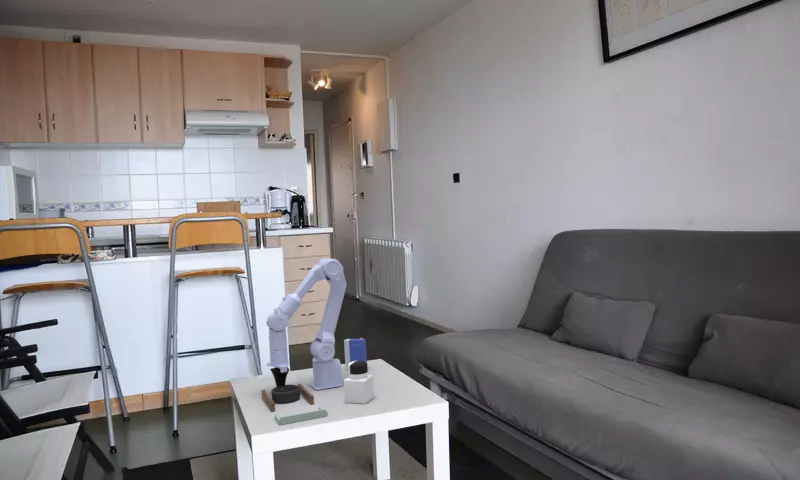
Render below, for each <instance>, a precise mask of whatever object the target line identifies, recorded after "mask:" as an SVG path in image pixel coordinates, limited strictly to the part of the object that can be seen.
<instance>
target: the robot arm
mask: <svg viewBox="0 0 800 480" xmlns="http://www.w3.org/2000/svg"><path fill="white" fill-rule="evenodd" d="M344 273H345V272H344V266H343V265H342V264H341V262H340V261H339V260H338V259H335V258H327V257H323V258H321V259H319V260H318V261H317V262H316V264H315V265H313V266H312V268H311V269H310V270H309V272H308V274H307V275H306V276H305V277H304V278H303V280H302V282H301V283H300V284H299V285H298V286H297V288H296V290H294V292H293V293H287V295H286V296H285V295H284V296H282V301H281V302H280V303H279V305H278V306H277V308H276V307H275V308H274V309H272V310H273V313H270V314H269V315H268V316H267V318H266V319H267V320H266V321H265V323H266V325H267V327H268V334H269V335H268V341H269V342H268V343H269V344H268V345H269V357H270V358H269V360H270V361H269V362H267V363H266V366H267V367H270V366H271V367H273V368H270V372H271V374H272V376H273V378H274V382H275V387H278V386H281V385H286V383H287V382H286V381H287V377H288V374H289V372H290V368H289V367H288V366H289V363H290V362H289V358H288V357H289V356H288V339H287V330H286V329H287V327H288V325H289V320H291V319H292V317H294V315H295V314H296V312H297V311H298V310H299V309H300V307H301V306H302V299H303V298H304V297H305V296H306V295H307V293H308V292H309V291H310V290H311V289H312V288H313V287H314V285H315V284H316V283H318V282H320V281H323V280H326V281H327V283H328V285H329V286H330V288H329V293H328V296H327V300H326V303H325V308H324V312H323V315H322V320H321V323H320V327H319V331H318V332H317V333H316V335H315V337H314V340H313V341H312V343H311V344H310V347H309V348H310V350H309V352H310V353H311V355H312V357H313V358H312V375H313V383H310V386H311V387H312V388H313V389H314V390H315V391H320V390H326V389H331V388H338V387H344V383H343V376H342V375H343V373H342V365H341V361H340V359H339V358H334V357H335V354H336V351H335V350H336V349H335V343H336V339H335V332H336V328H337V323H338V320H339V316H340V312H341V309H342V305H343V300H344V297H345V293H346V288H347V281H346V277H345V274H344Z"/></svg>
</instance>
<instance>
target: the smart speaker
mask: <svg viewBox="0 0 800 480" xmlns="http://www.w3.org/2000/svg"><path fill="white" fill-rule="evenodd" d="M300 397H301V394H300V388H299V387H298V385H296V384H285V385H281V386H278V387H276V386H275V387H273V388H272V389H271V399H272V400H273V401H274V402H275V404H287V403H288V404H289V403H294V402H296V401H297V400H299V399H300Z"/></svg>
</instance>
